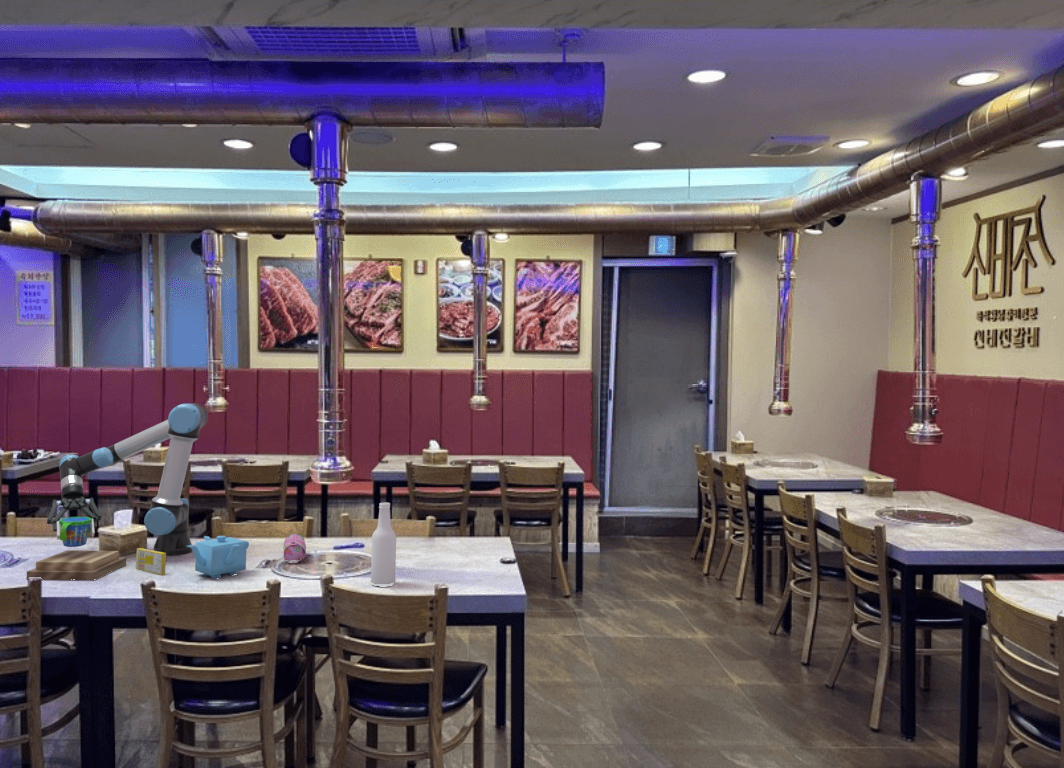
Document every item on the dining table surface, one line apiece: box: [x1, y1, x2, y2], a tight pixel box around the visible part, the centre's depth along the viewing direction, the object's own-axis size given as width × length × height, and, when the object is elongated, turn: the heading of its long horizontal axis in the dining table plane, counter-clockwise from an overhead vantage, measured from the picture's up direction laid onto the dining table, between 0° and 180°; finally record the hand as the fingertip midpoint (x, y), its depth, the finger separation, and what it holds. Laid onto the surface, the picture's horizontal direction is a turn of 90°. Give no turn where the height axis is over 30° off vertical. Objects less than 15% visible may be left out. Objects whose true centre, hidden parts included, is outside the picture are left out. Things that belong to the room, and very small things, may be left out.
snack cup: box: [59, 516, 92, 548], centre depth 295 cm, size 16×10×10 cm
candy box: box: [135, 547, 167, 576], centre depth 296 cm, size 16×2×8 cm, turn 59°
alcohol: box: [370, 501, 397, 584], centre depth 284 cm, size 9×9×30 cm
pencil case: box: [283, 533, 307, 561], centre depth 322 cm, size 21×9×9 cm, turn 16°
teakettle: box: [187, 535, 250, 580], centre depth 293 cm, size 19×19×15 cm
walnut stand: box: [26, 549, 127, 581], centre depth 293 cm, size 24×24×6 cm
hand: (75, 536), depth 293 cm, fingers closed on snack cup, 11 cm apart
